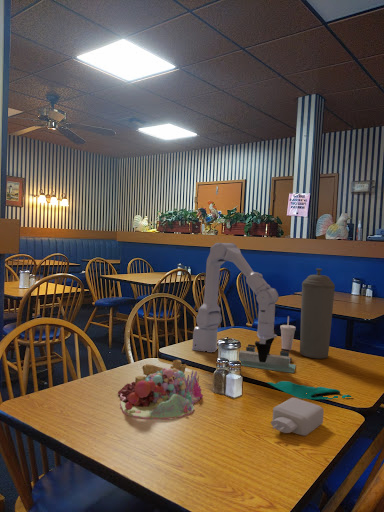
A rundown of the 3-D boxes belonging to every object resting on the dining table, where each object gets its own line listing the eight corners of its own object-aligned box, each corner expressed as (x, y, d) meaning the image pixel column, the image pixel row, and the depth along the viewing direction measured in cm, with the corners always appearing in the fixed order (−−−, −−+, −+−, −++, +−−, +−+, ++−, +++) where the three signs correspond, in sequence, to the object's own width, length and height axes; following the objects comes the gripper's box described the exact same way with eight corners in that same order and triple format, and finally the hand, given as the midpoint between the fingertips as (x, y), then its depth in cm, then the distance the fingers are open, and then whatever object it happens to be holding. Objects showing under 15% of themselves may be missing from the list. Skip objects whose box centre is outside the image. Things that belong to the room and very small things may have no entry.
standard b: (276, 361, 153) (277, 351, 152) (278, 356, 158) (279, 347, 158) (290, 363, 151) (291, 353, 151) (291, 358, 157) (292, 349, 157)
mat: (231, 364, 146) (231, 363, 146) (236, 357, 155) (236, 356, 155) (293, 373, 140) (293, 372, 140) (295, 365, 148) (295, 364, 148)
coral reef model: (112, 386, 121) (114, 356, 120) (188, 381, 128) (189, 352, 127) (125, 425, 97) (127, 387, 96) (217, 416, 104) (219, 380, 104)
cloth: (257, 389, 125) (258, 381, 125) (275, 377, 136) (275, 370, 136) (345, 413, 110) (346, 405, 110) (356, 398, 122) (357, 390, 122)
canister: (334, 361, 156) (340, 270, 155) (301, 359, 157) (307, 269, 155) (324, 351, 169) (330, 268, 167) (294, 350, 169) (299, 266, 168)
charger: (258, 432, 96) (289, 413, 107) (294, 447, 90) (322, 425, 101) (259, 412, 96) (290, 396, 107) (295, 426, 90) (323, 407, 101)
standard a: (242, 356, 157) (243, 347, 156) (245, 352, 162) (246, 343, 162) (255, 358, 155) (256, 349, 155) (258, 354, 161) (258, 345, 161)
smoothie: (278, 350, 168) (280, 316, 167) (279, 346, 174) (281, 314, 173) (294, 352, 166) (296, 318, 165) (294, 348, 172) (296, 315, 172)
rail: (238, 361, 149) (238, 352, 148) (239, 359, 151) (240, 350, 151) (288, 368, 143) (289, 358, 143) (289, 366, 146) (289, 356, 146)
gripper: (275, 327, 138) (272, 366, 139) (279, 319, 152) (277, 355, 153) (254, 324, 140) (252, 363, 141) (260, 317, 154) (258, 352, 155)
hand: (263, 359), depth 147 cm, fingers open, 7 cm apart
